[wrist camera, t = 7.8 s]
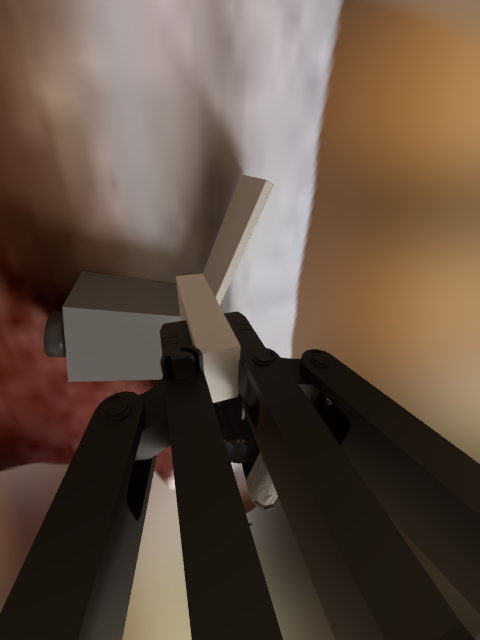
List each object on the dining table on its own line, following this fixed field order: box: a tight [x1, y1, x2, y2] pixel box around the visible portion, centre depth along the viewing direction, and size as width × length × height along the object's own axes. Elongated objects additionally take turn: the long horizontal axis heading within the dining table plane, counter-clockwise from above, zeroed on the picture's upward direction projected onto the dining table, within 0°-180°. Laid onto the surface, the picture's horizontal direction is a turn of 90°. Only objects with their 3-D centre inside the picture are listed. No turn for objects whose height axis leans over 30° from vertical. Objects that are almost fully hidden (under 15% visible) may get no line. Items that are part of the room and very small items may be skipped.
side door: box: [203, 174, 274, 306], centre depth 26 cm, size 14×2×7 cm, turn 154°
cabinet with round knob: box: [44, 271, 181, 382], centre depth 28 cm, size 16×9×9 cm, turn 72°
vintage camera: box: [213, 390, 278, 510], centre depth 35 cm, size 10×16×20 cm, turn 76°
